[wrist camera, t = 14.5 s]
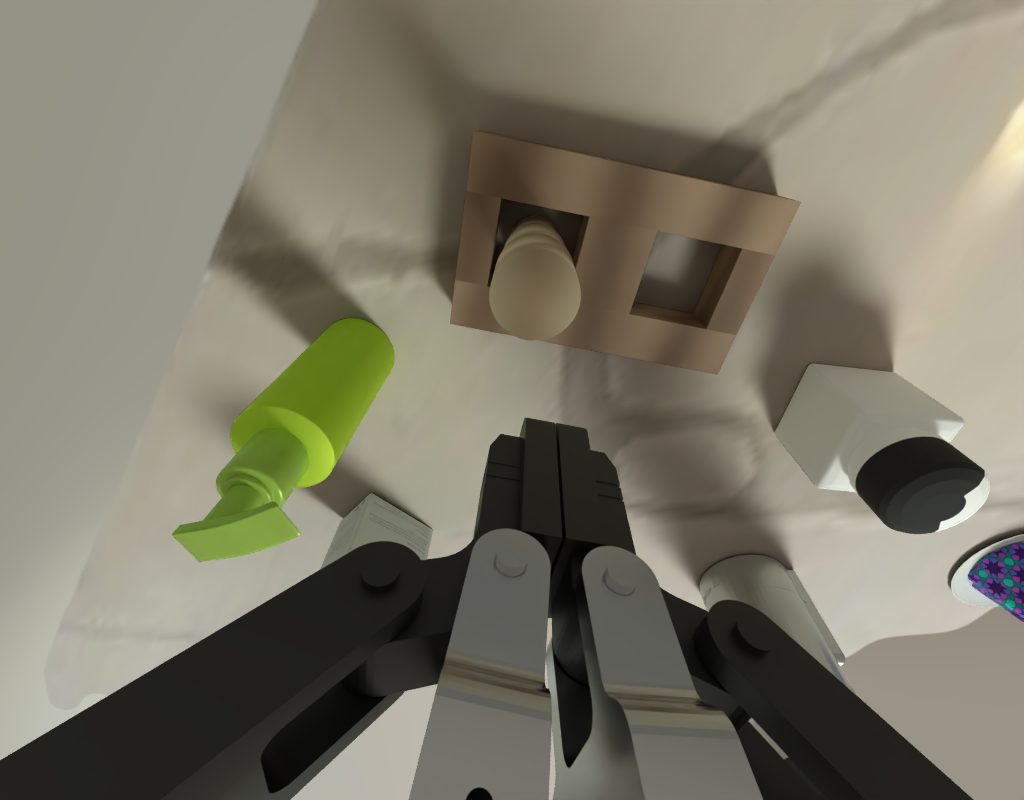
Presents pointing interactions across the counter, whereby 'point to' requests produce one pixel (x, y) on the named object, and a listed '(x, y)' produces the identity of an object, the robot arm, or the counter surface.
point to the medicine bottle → (882, 447)
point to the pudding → (994, 577)
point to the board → (621, 247)
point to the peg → (534, 282)
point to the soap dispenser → (291, 440)
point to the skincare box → (378, 529)
